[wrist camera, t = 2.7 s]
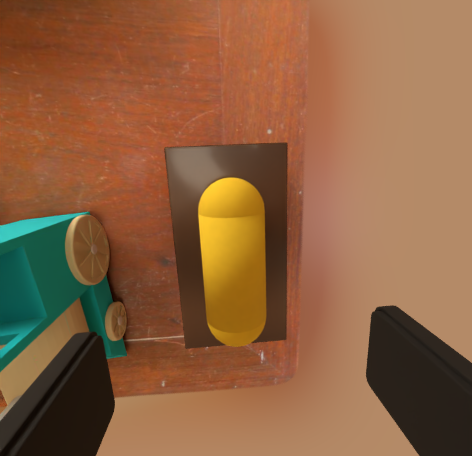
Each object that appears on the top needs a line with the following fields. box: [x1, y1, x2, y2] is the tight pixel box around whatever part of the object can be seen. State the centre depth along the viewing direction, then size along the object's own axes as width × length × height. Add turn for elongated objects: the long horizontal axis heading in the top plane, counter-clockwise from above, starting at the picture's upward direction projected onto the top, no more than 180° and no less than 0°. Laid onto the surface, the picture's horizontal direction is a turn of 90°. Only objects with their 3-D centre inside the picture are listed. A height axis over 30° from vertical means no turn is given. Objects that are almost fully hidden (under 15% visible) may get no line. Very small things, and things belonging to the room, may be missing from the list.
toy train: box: [0, 212, 127, 421], centre depth 20 cm, size 8×17×15 cm, turn 7°
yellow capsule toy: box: [198, 178, 266, 347], centre depth 16 cm, size 11×4×4 cm, turn 2°
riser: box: [164, 143, 287, 349], centre depth 22 cm, size 15×8×9 cm, turn 2°
